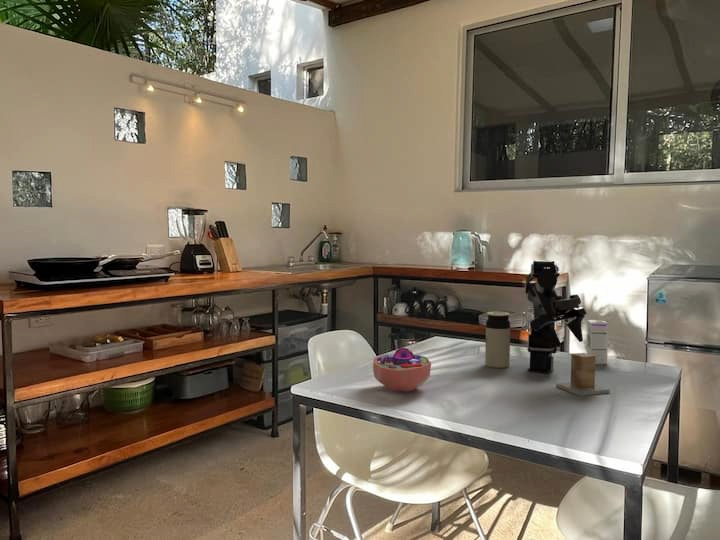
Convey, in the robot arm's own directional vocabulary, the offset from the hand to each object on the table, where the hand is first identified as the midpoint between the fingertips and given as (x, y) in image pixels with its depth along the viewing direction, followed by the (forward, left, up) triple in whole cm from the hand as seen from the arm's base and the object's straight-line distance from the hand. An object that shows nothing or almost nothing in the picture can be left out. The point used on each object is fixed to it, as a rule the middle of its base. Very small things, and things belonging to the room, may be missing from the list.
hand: (570, 344), depth 165 cm
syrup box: (0, +33, -12) cm, 35 cm away
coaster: (+5, -7, -11) cm, 15 cm away
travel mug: (-26, +7, -12) cm, 29 cm away
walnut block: (+5, -7, -10) cm, 14 cm away
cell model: (-37, -37, -12) cm, 54 cm away
